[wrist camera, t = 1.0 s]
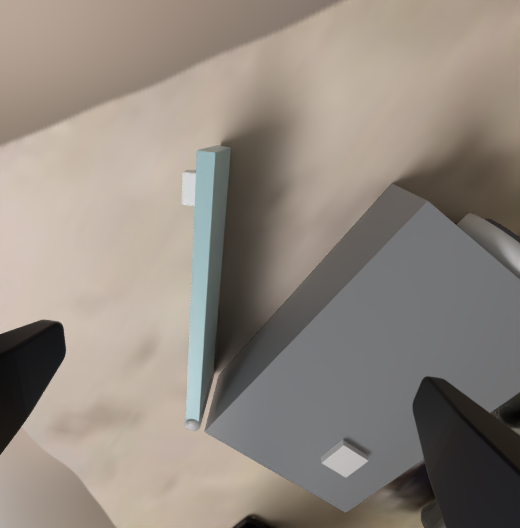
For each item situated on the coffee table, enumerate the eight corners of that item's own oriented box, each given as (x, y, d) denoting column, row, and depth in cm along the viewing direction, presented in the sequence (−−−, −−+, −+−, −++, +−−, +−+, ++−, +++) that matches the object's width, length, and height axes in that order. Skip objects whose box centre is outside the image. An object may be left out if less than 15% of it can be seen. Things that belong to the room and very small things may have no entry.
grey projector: (334, 447, 27) (346, 519, 22) (218, 376, 25) (203, 437, 20) (544, 278, 21) (629, 326, 16) (411, 161, 18) (460, 173, 13)
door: (214, 377, 25) (199, 431, 20) (189, 374, 25) (169, 427, 20) (232, 147, 18) (217, 153, 14) (199, 143, 19) (173, 147, 14)
